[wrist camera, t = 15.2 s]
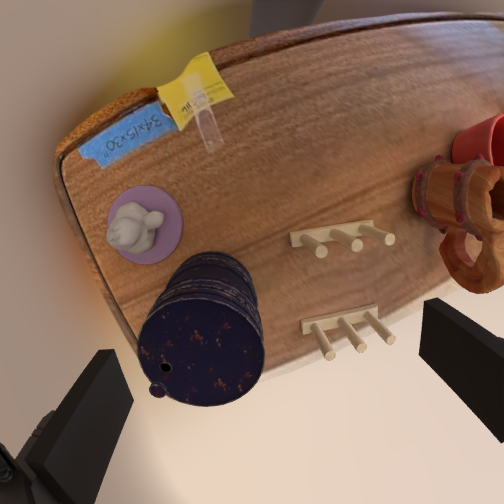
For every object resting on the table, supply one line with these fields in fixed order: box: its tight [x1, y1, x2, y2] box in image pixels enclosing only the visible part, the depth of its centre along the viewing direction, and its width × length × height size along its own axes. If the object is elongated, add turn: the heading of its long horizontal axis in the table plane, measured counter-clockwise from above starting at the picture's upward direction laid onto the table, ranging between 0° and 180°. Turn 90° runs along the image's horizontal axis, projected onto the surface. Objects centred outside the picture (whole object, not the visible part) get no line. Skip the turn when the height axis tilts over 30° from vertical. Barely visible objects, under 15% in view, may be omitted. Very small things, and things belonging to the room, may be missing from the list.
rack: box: [289, 219, 396, 360], centre depth 33 cm, size 13×10×8 cm
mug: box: [411, 153, 504, 294], centre depth 28 cm, size 15×8×15 cm, turn 4°
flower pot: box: [452, 113, 504, 167], centre depth 30 cm, size 11×11×10 cm
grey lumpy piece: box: [106, 202, 164, 254], centre depth 29 cm, size 5×7×8 cm
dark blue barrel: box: [137, 251, 265, 407], centre depth 28 cm, size 10×10×18 cm
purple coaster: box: [107, 185, 183, 265], centre depth 34 cm, size 9×9×1 cm
